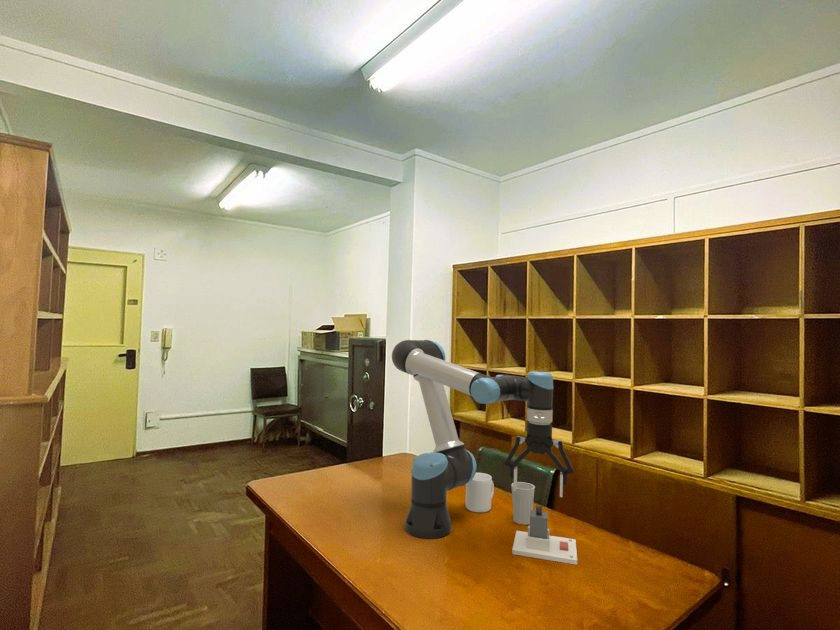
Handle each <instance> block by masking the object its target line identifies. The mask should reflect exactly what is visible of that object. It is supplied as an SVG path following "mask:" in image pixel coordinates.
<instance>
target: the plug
mask: <svg viewBox="0 0 840 630" xmlns="http://www.w3.org/2000/svg"><path fill="white" fill-rule="evenodd" d="M548 517H549V515H548V512H546V511H543V506H542V505H539V504H537V505H535V510H533V511H532V510H531V513H530V524H529V526H530V537H536V538H542V539H547V531H548V529H549V528H548V527H549V526H548V523H549V522H548V521H549V520H548V519H549V518H548Z"/></svg>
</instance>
